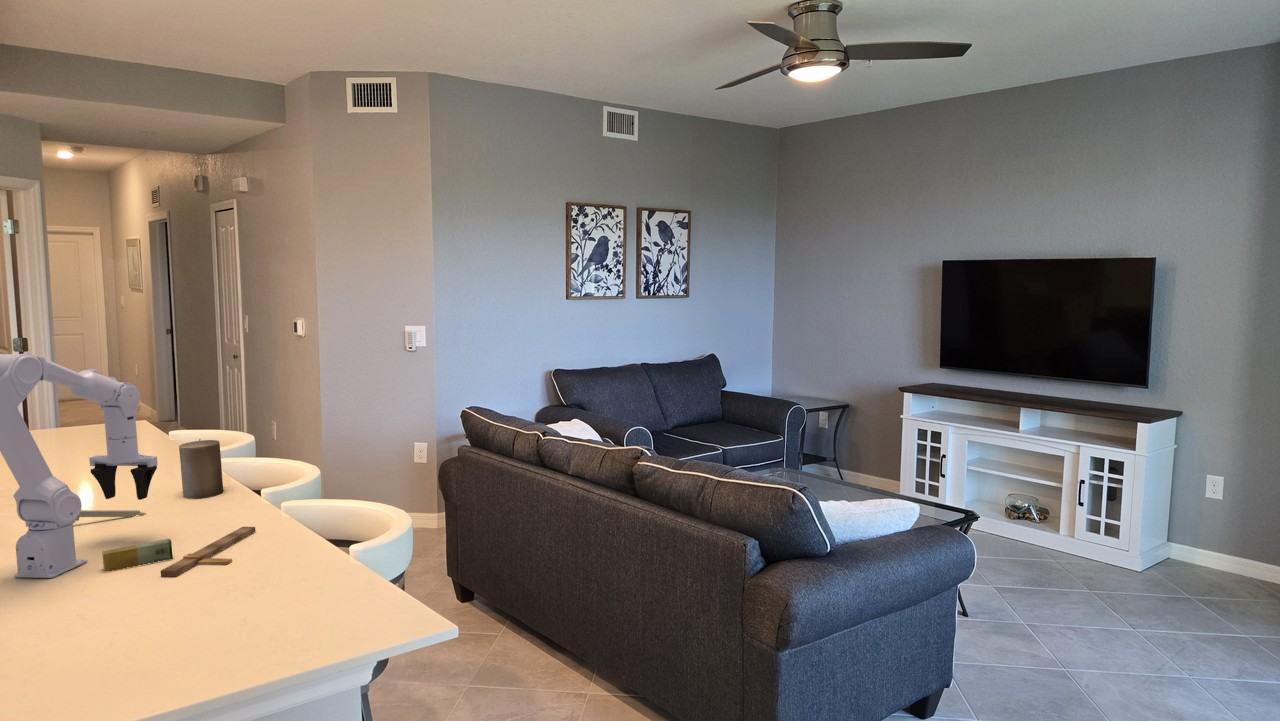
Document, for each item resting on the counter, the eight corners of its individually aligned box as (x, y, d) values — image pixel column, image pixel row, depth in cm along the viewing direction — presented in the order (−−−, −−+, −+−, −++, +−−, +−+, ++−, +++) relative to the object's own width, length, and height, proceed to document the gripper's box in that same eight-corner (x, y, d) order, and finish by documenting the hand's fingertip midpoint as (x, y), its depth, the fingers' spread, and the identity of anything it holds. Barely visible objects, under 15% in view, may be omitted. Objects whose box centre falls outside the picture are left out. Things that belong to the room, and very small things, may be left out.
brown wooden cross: (205, 577, 160) (204, 570, 159) (160, 576, 160) (159, 569, 160) (280, 532, 187) (280, 525, 187) (242, 531, 188) (242, 525, 188)
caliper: (43, 532, 190) (41, 505, 190) (43, 531, 191) (41, 504, 191) (146, 515, 203) (144, 490, 202) (145, 514, 204) (143, 489, 203)
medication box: (171, 556, 173) (170, 537, 172) (173, 559, 171) (172, 540, 170) (103, 570, 165) (101, 550, 165) (104, 573, 163) (102, 553, 163)
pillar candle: (231, 489, 226) (227, 435, 224) (209, 499, 216) (204, 442, 215) (197, 489, 227) (193, 435, 225) (174, 499, 217) (169, 442, 216)
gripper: (165, 433, 184) (169, 493, 185) (104, 433, 185) (109, 492, 187) (142, 440, 177) (147, 502, 178) (79, 439, 179) (85, 501, 180)
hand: (126, 498), depth 182 cm, fingers open, 7 cm apart
